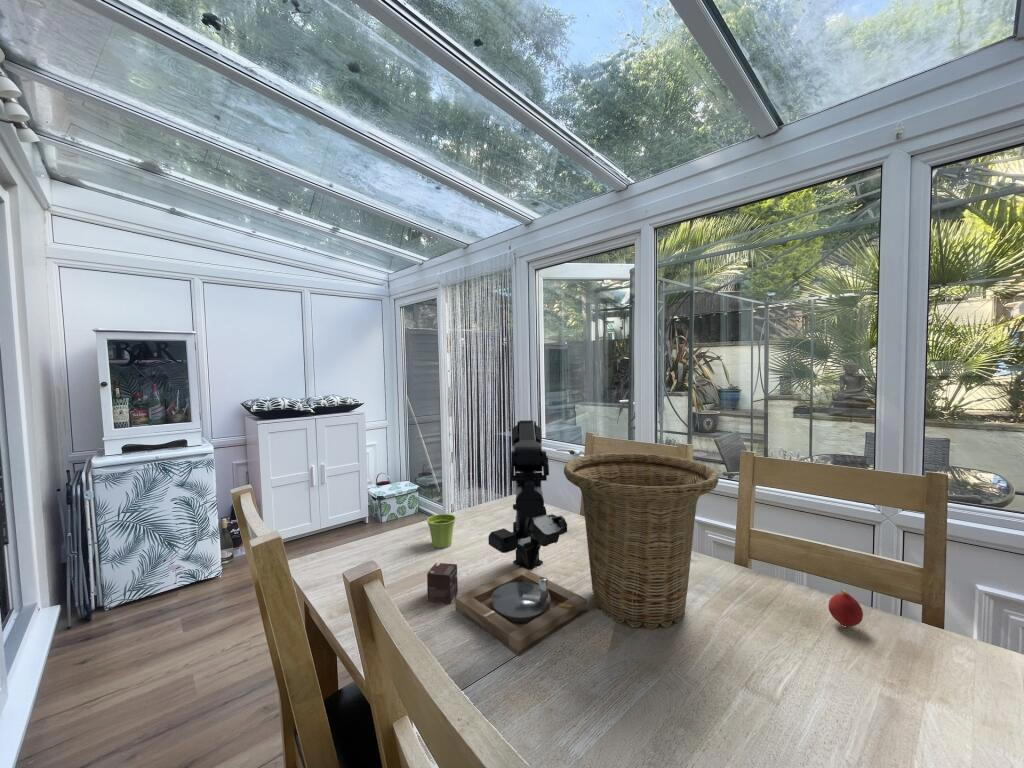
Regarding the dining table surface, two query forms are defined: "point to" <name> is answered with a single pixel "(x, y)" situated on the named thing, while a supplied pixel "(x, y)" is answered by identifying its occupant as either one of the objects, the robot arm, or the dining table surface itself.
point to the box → (442, 583)
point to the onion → (845, 609)
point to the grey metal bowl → (521, 601)
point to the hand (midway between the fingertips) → (529, 569)
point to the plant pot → (441, 529)
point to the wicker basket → (640, 531)
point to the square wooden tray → (527, 634)
